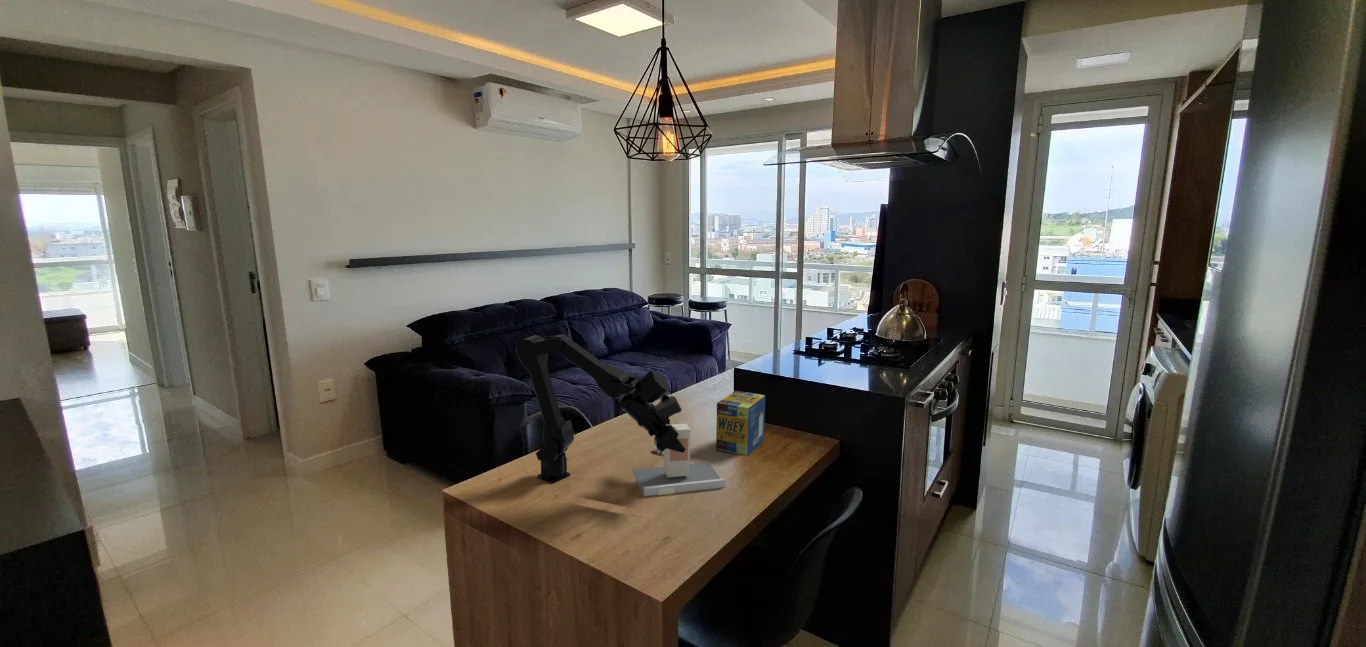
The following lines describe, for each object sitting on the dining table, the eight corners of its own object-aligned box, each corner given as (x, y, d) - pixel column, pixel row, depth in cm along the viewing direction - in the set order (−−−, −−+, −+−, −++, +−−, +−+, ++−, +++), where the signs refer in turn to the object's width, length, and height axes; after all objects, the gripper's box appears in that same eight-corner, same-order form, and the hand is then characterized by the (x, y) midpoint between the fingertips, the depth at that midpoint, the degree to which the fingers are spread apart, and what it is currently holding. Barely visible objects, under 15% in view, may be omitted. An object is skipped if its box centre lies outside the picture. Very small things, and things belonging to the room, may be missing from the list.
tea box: (667, 477, 150) (668, 431, 148) (664, 470, 154) (664, 424, 152) (689, 475, 151) (690, 429, 149) (685, 468, 156) (686, 423, 154)
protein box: (715, 451, 174) (716, 402, 171) (734, 435, 187) (735, 389, 185) (747, 457, 169) (748, 408, 166) (764, 440, 182) (766, 394, 180)
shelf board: (642, 502, 141) (642, 489, 141) (632, 474, 157) (632, 463, 156) (726, 493, 147) (726, 480, 146) (708, 467, 162) (709, 455, 162)
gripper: (670, 399, 139) (712, 438, 143) (656, 379, 157) (694, 414, 161) (638, 432, 138) (682, 470, 143) (628, 408, 156) (666, 443, 161)
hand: (682, 447), depth 152 cm, fingers closed on tea box, 5 cm apart
